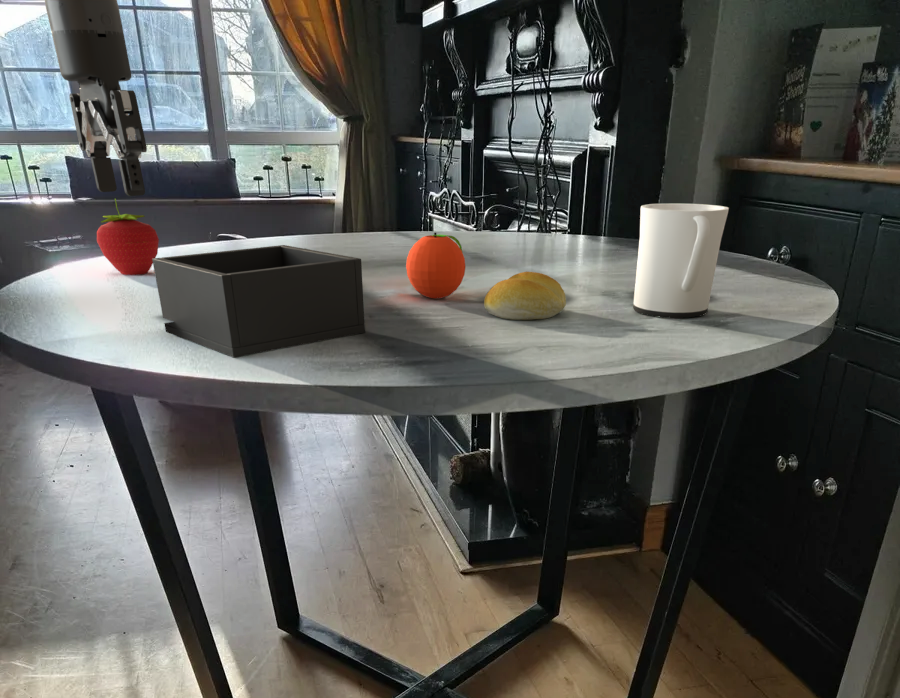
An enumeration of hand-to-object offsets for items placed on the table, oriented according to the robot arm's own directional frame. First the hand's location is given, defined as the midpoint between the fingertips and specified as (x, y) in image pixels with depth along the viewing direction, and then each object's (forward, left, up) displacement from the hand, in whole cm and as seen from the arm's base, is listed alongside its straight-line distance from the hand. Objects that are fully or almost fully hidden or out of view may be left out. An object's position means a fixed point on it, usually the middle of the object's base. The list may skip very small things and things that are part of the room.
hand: (121, 193), depth 95 cm
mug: (+36, -57, -11) cm, 68 cm away
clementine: (+23, -33, -11) cm, 41 cm away
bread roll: (+24, -46, -11) cm, 53 cm away
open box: (-2, -35, -11) cm, 36 cm away
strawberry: (0, 0, -11) cm, 11 cm away
